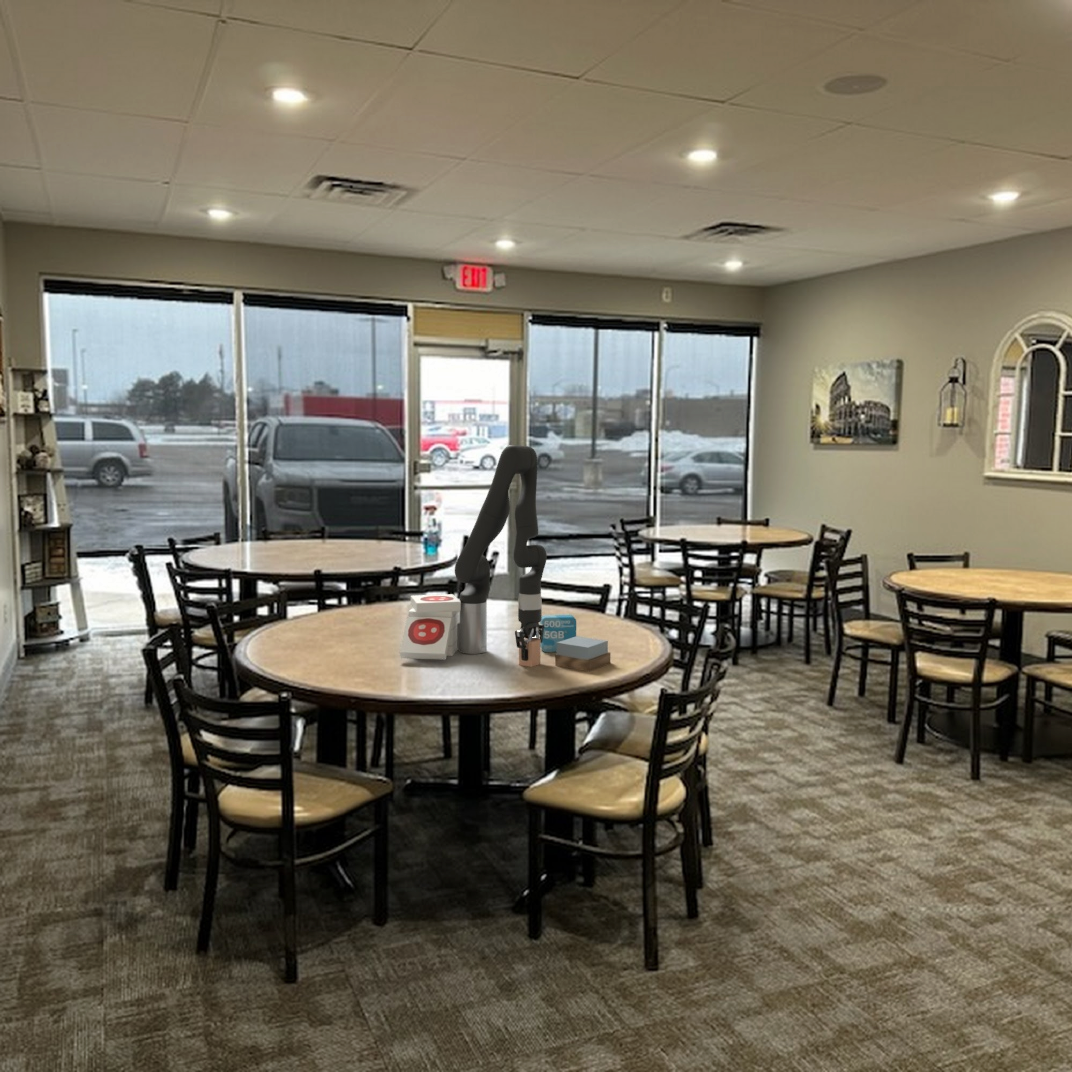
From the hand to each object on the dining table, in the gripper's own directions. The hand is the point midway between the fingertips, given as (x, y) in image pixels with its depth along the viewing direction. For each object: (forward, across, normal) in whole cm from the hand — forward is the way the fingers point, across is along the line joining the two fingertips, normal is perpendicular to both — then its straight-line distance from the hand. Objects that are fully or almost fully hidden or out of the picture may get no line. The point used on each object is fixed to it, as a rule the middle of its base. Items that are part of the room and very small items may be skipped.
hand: (529, 658), depth 308 cm
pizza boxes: (+2, +7, -35) cm, 36 cm away
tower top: (-2, -10, +14) cm, 17 cm away
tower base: (+2, -10, +14) cm, 18 cm away
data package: (+2, -22, -3) cm, 22 cm away
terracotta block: (+2, 0, 0) cm, 2 cm away
